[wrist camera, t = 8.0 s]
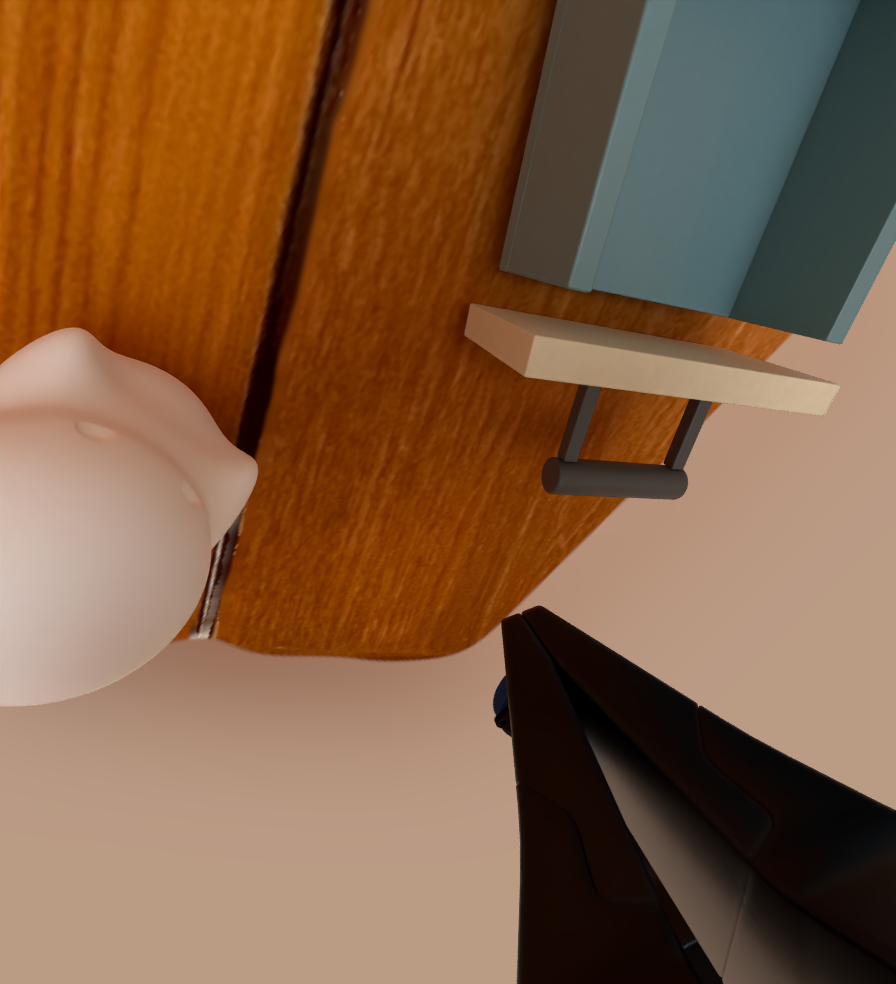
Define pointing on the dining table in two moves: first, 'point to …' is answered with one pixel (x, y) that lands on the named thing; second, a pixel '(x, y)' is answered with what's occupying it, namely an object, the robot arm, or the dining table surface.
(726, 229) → the drawer
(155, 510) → the figurine
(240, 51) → the dining table surface
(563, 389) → the dining table surface
